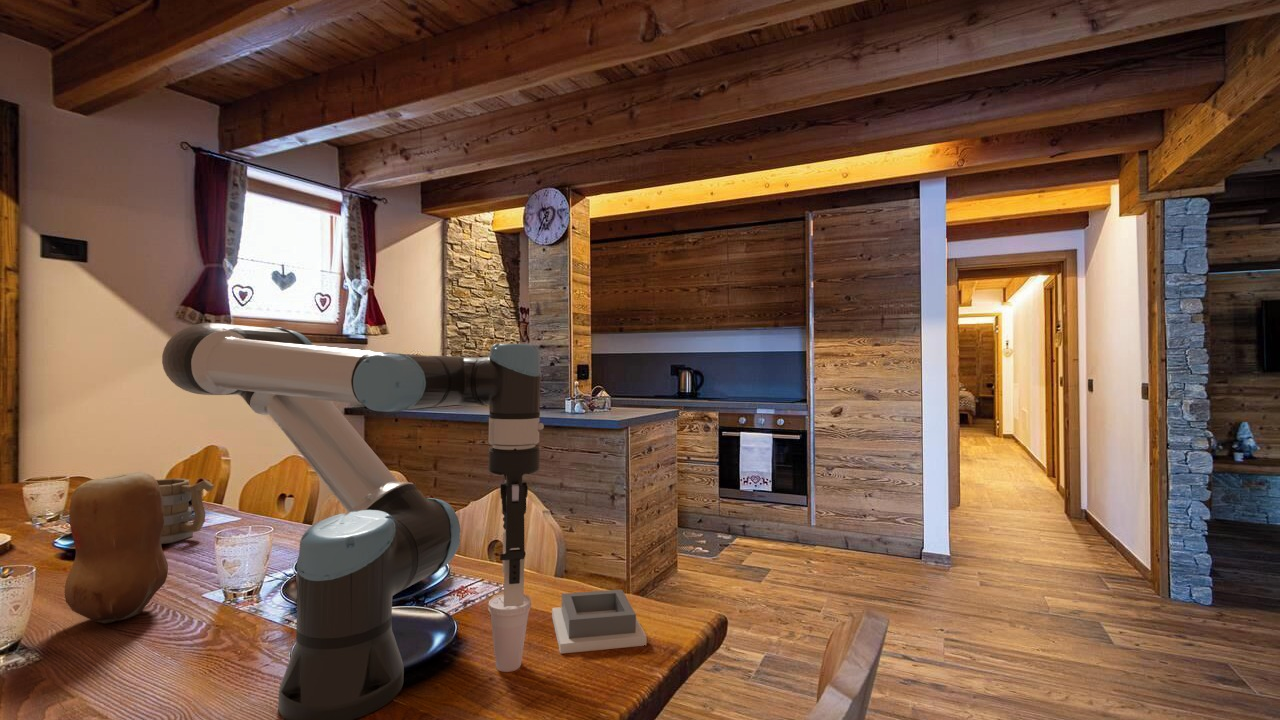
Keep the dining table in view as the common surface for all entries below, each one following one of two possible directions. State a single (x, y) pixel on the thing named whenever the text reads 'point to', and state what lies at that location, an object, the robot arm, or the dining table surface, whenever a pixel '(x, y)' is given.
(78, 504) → the butternut squash
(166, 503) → the tankard
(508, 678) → the dining table surface
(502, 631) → the smoothie
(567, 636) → the holder
